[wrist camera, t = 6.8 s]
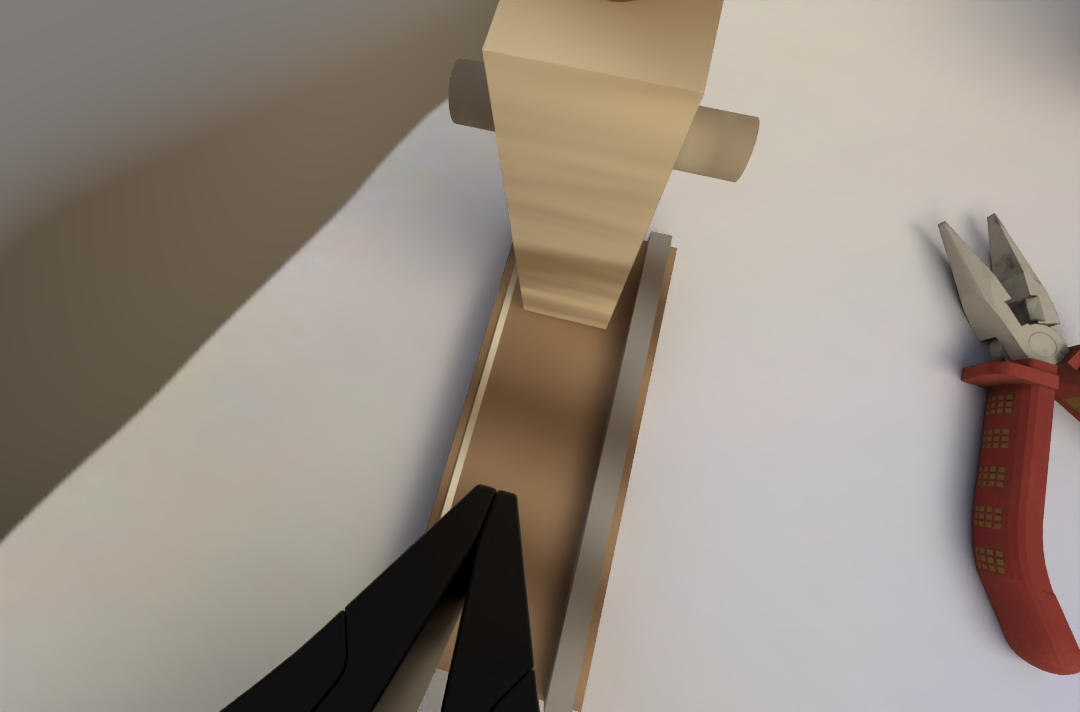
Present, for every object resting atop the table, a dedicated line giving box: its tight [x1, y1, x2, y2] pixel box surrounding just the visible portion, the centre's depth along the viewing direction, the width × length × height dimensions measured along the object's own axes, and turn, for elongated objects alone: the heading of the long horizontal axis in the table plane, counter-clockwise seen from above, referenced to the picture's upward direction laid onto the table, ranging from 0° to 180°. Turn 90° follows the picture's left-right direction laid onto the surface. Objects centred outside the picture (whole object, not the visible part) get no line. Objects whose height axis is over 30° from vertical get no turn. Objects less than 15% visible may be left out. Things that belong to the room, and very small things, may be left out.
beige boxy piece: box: [449, 0, 759, 329], centre depth 15 cm, size 5×8×15 cm, turn 75°
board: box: [426, 232, 677, 712], centre depth 21 cm, size 21×8×2 cm, turn 165°
